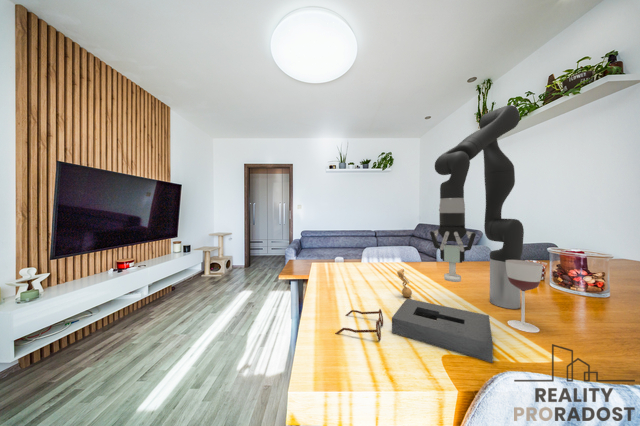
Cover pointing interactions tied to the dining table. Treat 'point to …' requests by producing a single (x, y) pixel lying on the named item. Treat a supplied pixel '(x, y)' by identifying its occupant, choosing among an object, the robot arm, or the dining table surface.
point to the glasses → (366, 330)
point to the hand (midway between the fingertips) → (452, 261)
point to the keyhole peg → (452, 262)
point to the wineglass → (523, 286)
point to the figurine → (405, 290)
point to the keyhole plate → (445, 328)
